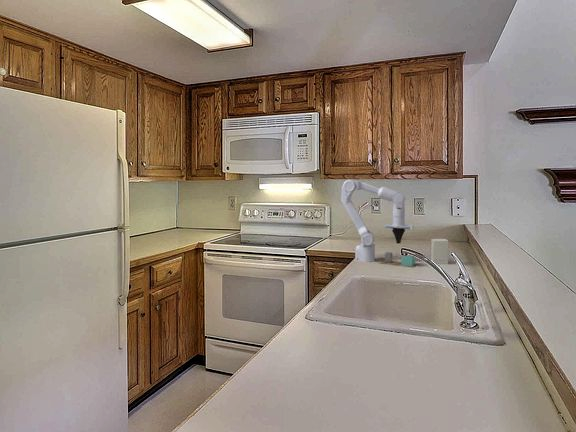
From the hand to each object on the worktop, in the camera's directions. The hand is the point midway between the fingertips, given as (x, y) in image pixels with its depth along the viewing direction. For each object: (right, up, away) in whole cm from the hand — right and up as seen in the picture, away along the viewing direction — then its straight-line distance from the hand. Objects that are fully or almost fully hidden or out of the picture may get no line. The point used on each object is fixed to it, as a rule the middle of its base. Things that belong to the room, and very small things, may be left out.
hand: (398, 243), depth 199 cm
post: (-5, -10, -1) cm, 11 cm away
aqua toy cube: (+3, -10, -7) cm, 13 cm away
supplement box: (+19, -11, -3) cm, 22 cm away
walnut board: (-1, -11, -4) cm, 12 cm away
